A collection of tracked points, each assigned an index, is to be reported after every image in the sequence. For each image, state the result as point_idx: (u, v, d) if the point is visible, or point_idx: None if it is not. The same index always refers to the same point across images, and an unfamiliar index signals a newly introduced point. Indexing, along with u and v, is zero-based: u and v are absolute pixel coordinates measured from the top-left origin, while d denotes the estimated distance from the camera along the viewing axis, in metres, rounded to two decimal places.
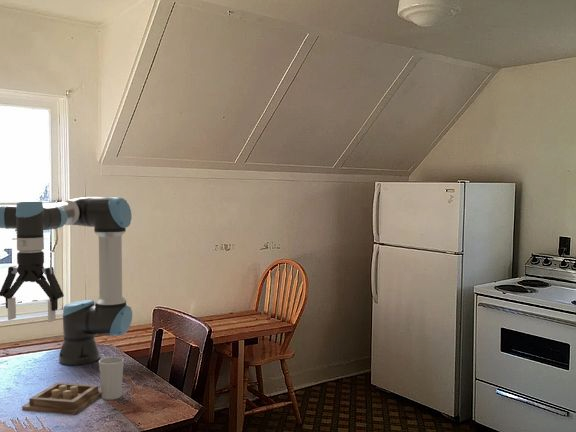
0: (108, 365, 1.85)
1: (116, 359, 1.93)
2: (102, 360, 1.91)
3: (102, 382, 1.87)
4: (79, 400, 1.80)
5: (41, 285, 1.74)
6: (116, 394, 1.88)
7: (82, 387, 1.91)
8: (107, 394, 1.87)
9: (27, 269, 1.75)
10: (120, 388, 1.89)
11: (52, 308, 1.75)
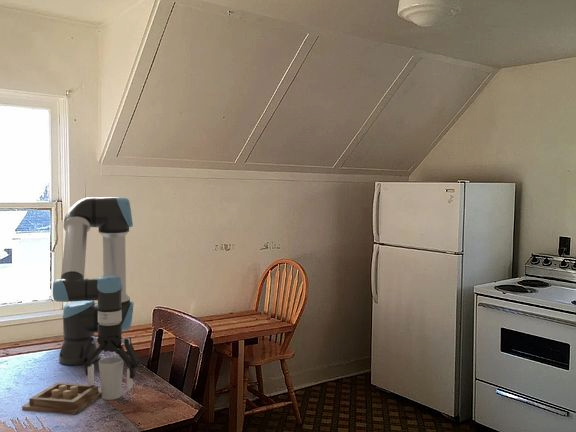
0: (108, 365, 1.85)
1: (116, 359, 1.93)
2: (102, 360, 1.91)
3: (102, 382, 1.87)
4: (79, 400, 1.80)
5: (120, 355, 1.87)
6: (116, 394, 1.88)
7: (82, 387, 1.91)
8: (107, 394, 1.87)
9: (107, 340, 1.88)
10: (120, 388, 1.89)
11: (130, 376, 1.87)
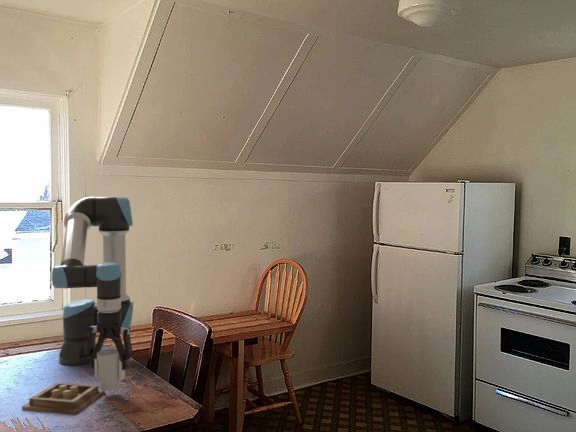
0: (106, 357, 1.86)
1: (114, 351, 1.93)
2: (100, 352, 1.91)
3: (101, 374, 1.88)
4: (79, 400, 1.80)
5: (116, 344, 1.88)
6: (116, 386, 1.88)
7: (82, 387, 1.91)
8: (107, 385, 1.87)
9: (106, 325, 1.88)
10: None
11: (123, 367, 1.88)
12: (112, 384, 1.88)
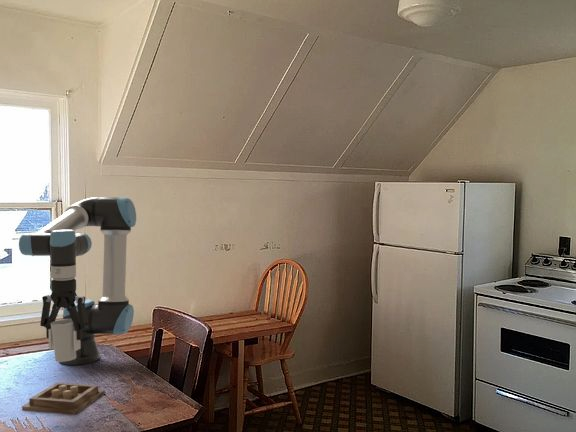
0: (60, 326, 1.80)
1: (70, 321, 1.88)
2: (54, 322, 1.85)
3: (55, 344, 1.82)
4: (79, 400, 1.80)
5: (70, 313, 1.82)
6: (70, 356, 1.82)
7: (82, 387, 1.91)
8: (60, 356, 1.81)
9: (60, 293, 1.83)
10: None
11: (77, 337, 1.83)
12: (66, 354, 1.82)
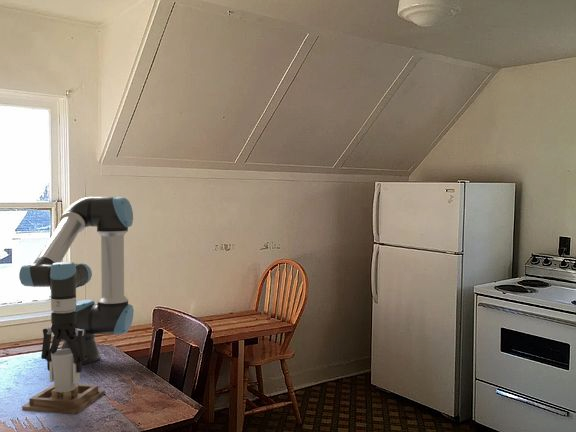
0: (60, 357, 1.80)
1: (70, 351, 1.88)
2: (55, 352, 1.86)
3: (54, 375, 1.82)
4: (79, 400, 1.80)
5: (70, 346, 1.83)
6: (70, 387, 1.83)
7: (82, 387, 1.91)
8: (60, 387, 1.82)
9: (60, 325, 1.83)
10: None
11: (77, 370, 1.83)
12: (65, 385, 1.82)
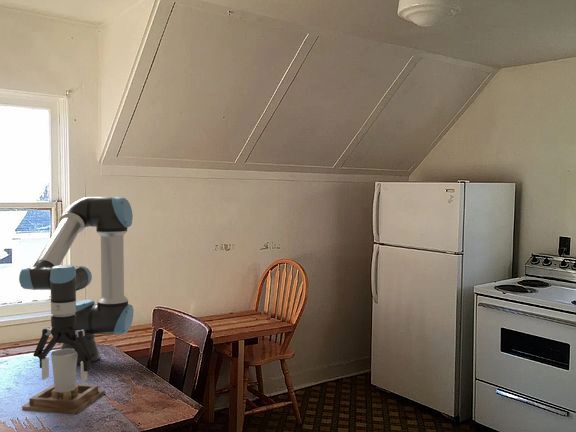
0: (60, 357, 1.80)
1: (70, 351, 1.88)
2: (55, 352, 1.86)
3: (54, 375, 1.82)
4: (79, 400, 1.80)
5: (74, 347, 1.82)
6: (70, 387, 1.83)
7: (82, 387, 1.91)
8: (60, 387, 1.82)
9: (60, 331, 1.83)
10: (74, 381, 1.84)
11: (84, 369, 1.83)
12: (65, 385, 1.82)
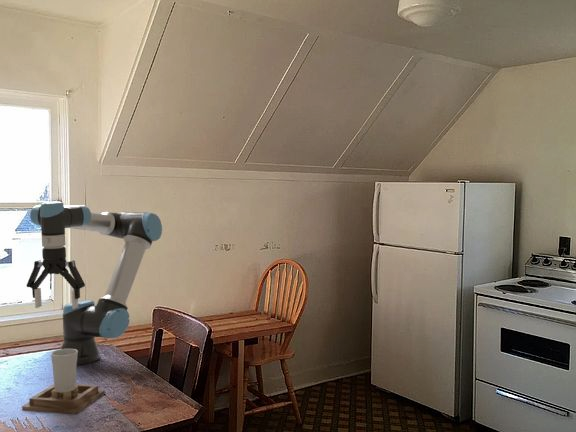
0: (60, 357, 1.80)
1: (70, 351, 1.88)
2: (55, 352, 1.86)
3: (54, 375, 1.82)
4: (79, 400, 1.80)
5: (65, 276, 1.97)
6: (70, 387, 1.83)
7: (82, 387, 1.91)
8: (60, 387, 1.82)
9: (51, 263, 1.98)
10: (74, 381, 1.84)
11: (75, 296, 1.98)
12: (65, 385, 1.82)
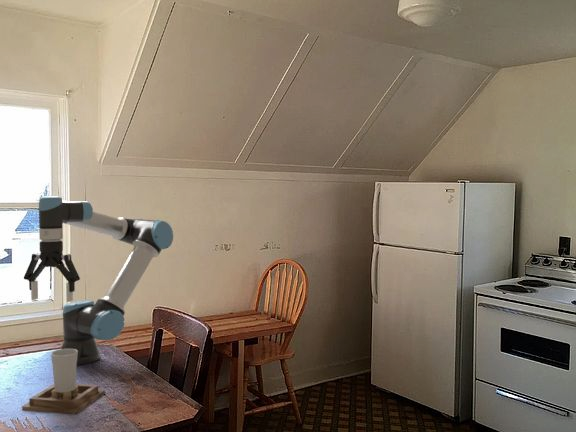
0: (60, 357, 1.80)
1: (70, 351, 1.88)
2: (55, 352, 1.86)
3: (54, 375, 1.82)
4: (79, 400, 1.80)
5: (60, 270, 2.01)
6: (70, 387, 1.83)
7: (82, 387, 1.91)
8: (60, 387, 1.82)
9: (48, 256, 2.01)
10: (74, 381, 1.84)
11: (70, 290, 2.01)
12: (65, 385, 1.82)
